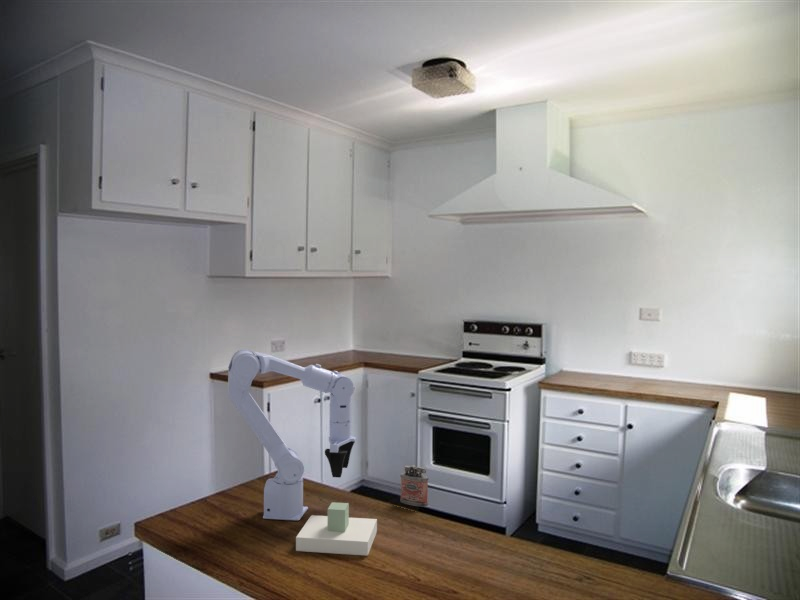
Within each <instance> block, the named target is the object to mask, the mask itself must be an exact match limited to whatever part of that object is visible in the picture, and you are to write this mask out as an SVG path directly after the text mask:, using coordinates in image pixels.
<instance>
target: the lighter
mask: <svg viewBox="0 0 800 600" xmlns="http://www.w3.org/2000/svg"><path fill="white" fill-rule="evenodd" d="M426 473H427V469H426V467H420V466H417V465H415V464H412V465H405V466H404V472H400V473H399V474H400V501H399V502H400V503H403V504H405V505H409V506H415V507H422V508H423V507H424V508H425V507H428V506H429V500H428V499H429V497H428V491H429V489H428V485H429V484H428V481H429V476H427V475H424V474H426Z"/></svg>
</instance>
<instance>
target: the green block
mask: <svg viewBox="0 0 800 600" xmlns="http://www.w3.org/2000/svg"><path fill="white" fill-rule="evenodd" d="M349 506H350V503H349V502H331V503H330V505H329V506H328V507H327V516H328V531H334V532H345V531H346V529H347V527H348V525H349V516H350V515H349V514H350V507H349Z"/></svg>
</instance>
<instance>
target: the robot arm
mask: <svg viewBox="0 0 800 600" xmlns="http://www.w3.org/2000/svg"><path fill="white" fill-rule="evenodd" d="M227 371H228V373H227V374H228V375H227V376H228V377H227V381H228V382H227V394H228V398H229V400H230V401H231V403H233V405H234V407H235V408H236V410H237V411H238V412H239V414H240V415H241V416H242V418H243V419H244V421H245V422H246V424H247V425H248V427H249V428H250V429H251V430H252V432H253V434H254V435H255V436H256V437H257V438H258V440H259V442H260V443H261V445H262V446H263V447H264V449H265V450H266V451H267V453H268V454H269V456H270V458H271V460H272V461H273V462H274V466H275V468H276V470H277V472H276V474H275V476H274V477H271V478H268V479H266V482H265V484H264V489H263V516H262V518H263V519H266V520H267V519H268V520H284V521H300V520H301V518H302V517H303V516H304V515H305V513H306V512H307V510H308V509H309V507H308V506H304V476H303V475H304V472H305V465H304V464H303V462H302V460H301V459H300V457H299V455H298V453H297V451H295V450H294V449H292V448H290V447H289V446H288V445H287V444H286V443H285V441H284V440H283V438H282V437H281V436H280V435H279V434H278V432H277V430H276V429H275V427H274V426H273V424H272V423H271V421H270V420H269V418H267V416H266V415H265V413H264V411H263V410H262V409H261V407H260V406H259V404H258V402H257V401H256V400H255V398H253V396H252V394H251V393H250V389H251V386H252V382H253V380H254V379H255V377H256V376H257V375H258V373H260V375H263V374H267V373H270V372H275V373H277V374H281V375H285V376H288V377H291V378H294V379H299V380H300V381H301V383H302V385H303V386H304V387H305V388H309V389H313V390H315V391H317V392H318V391H319V392H321V393H325V394H329V393H330V395H329V436H328V442H329V448H326V449H324V455H325V457H326V459H327V461H328V463H329V467H330V472H331V475H332V478H339V479H340V478H341V477H342V475H343V469H346V468H347V469H348V466H349V463H350V457H351V453H352V449H353V446H354V444H355V442H356V440H357V437H356V436H353V435H352V396H353V394H354V392H355V386H354V383H353V381H352V380H351V379H350V378H349V377H348V376H346V375H344V374H342V373H341V372H338V371H337V370H333V371H331V370H329V369H326V368H324V367H322V365H321V364H319V363H315V365H314V364H309V365H307V366H305V367H303V366H301V365H298V364H296V363H292V362H291V361H288V360H285V359H282V358H279V357H277V356H274V355H272V354H268V353H263V352H261V351H259V352H258V351H254V352H253V351H252V350H250V349H247V348H244V349H240V350H237V351H236V352H234V353H233V354H232V357H231V360H230V362H229V365H228V370H227Z"/></svg>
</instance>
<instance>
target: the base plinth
mask: <svg viewBox="0 0 800 600" xmlns="http://www.w3.org/2000/svg"><path fill="white" fill-rule="evenodd" d="M377 533H378V519H377V518H366V517H365V518H364V517H349V525H348V527H347V529H346V531H345V532H334V531H328V515H314V514H312V515H311V516H310V517H309V518H308V520H306V522H305V524H304V525H303V527H302V528H301V529H300V531H299V532H298V534H297V535H296V537H295V552H307V553H310V552H311V553H320V554H321V553H322V554H336V555H337V554H338V555H339V554H340V555H353V556H368V557H369V554H370V552H371V549H372V546H373V542H374V540H375V537H376V535H377Z"/></svg>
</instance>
